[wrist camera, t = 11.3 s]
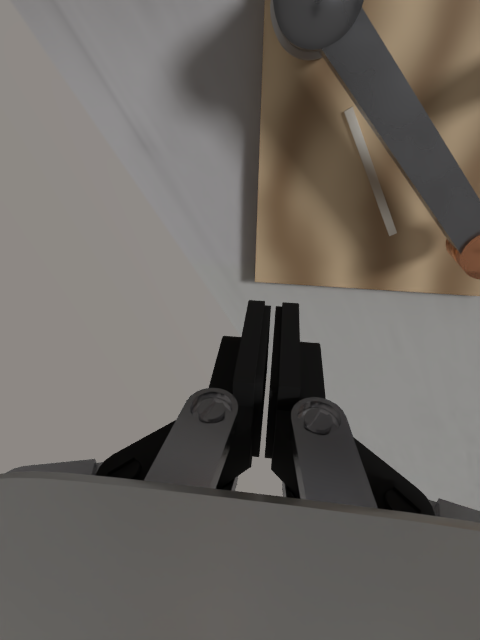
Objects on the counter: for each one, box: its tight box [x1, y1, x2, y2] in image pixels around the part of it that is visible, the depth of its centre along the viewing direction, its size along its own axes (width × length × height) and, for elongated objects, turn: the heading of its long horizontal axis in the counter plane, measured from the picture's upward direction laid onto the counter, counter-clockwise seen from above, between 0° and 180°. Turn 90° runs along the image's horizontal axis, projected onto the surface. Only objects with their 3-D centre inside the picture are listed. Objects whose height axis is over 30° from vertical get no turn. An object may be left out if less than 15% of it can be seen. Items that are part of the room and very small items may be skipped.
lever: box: [273, 0, 480, 279], centre depth 22 cm, size 22×4×3 cm, turn 44°
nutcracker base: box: [255, 0, 480, 296], centre depth 24 cm, size 21×23×8 cm
